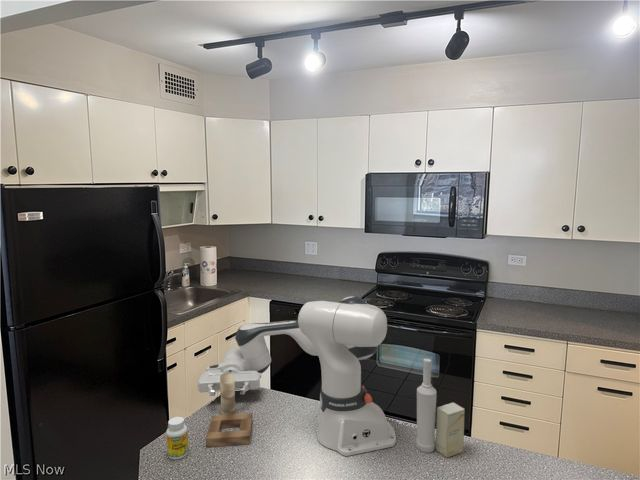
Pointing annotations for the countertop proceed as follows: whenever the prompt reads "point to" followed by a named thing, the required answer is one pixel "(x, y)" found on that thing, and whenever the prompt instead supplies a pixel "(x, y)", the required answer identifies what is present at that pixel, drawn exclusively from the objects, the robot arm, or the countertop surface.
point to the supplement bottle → (177, 438)
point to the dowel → (227, 393)
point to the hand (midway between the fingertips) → (227, 393)
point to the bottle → (426, 411)
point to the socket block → (229, 437)
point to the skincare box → (450, 429)
